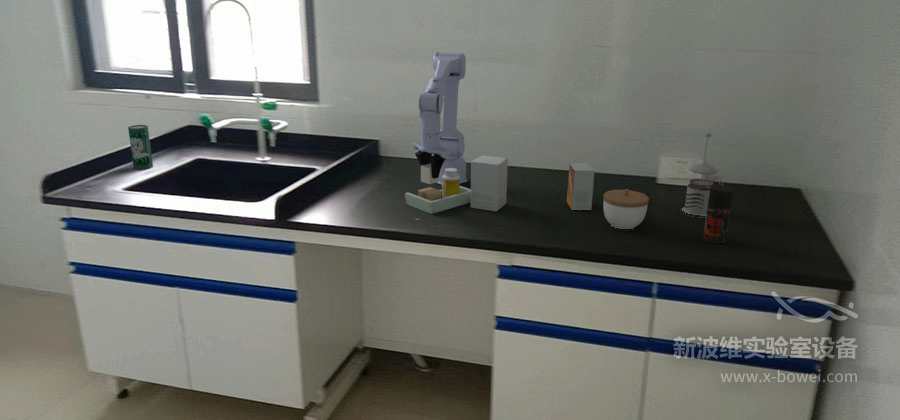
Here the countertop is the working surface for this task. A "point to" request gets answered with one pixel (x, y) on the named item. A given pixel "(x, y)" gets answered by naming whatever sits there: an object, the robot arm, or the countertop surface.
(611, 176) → the countertop surface
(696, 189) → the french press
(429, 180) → the cream box
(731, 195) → the deodorant
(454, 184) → the supplement bottle
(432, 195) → the oak block
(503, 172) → the supplement box
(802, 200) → the countertop surface
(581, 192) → the small box
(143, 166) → the can
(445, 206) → the tray
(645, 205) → the lidded bowl
